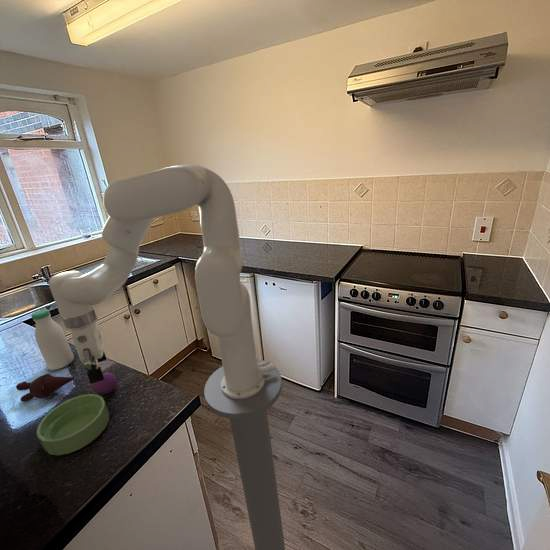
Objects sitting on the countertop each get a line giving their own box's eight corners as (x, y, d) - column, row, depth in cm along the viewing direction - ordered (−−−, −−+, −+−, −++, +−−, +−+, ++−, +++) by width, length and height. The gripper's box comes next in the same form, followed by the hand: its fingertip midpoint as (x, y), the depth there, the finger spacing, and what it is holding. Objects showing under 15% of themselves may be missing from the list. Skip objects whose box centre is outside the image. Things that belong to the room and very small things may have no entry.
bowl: (111, 401, 83) (106, 387, 82) (108, 440, 71) (102, 424, 69) (52, 421, 78) (44, 407, 76) (37, 467, 66) (28, 451, 64)
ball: (119, 381, 91) (114, 365, 89) (119, 394, 86) (113, 377, 84) (97, 389, 89) (91, 372, 87) (95, 402, 84) (89, 385, 81)
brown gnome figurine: (75, 362, 91) (22, 377, 89) (63, 372, 84) (5, 388, 82) (83, 383, 92) (30, 398, 90) (71, 394, 85) (14, 411, 83)
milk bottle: (76, 362, 103) (56, 310, 95) (50, 373, 98) (26, 320, 91) (71, 353, 108) (51, 304, 101) (46, 364, 103) (23, 313, 96)
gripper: (92, 328, 72) (112, 384, 78) (99, 301, 87) (115, 350, 93) (56, 337, 69) (79, 395, 76) (69, 308, 84) (87, 358, 91)
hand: (99, 370), depth 85 cm, fingers open, 9 cm apart
